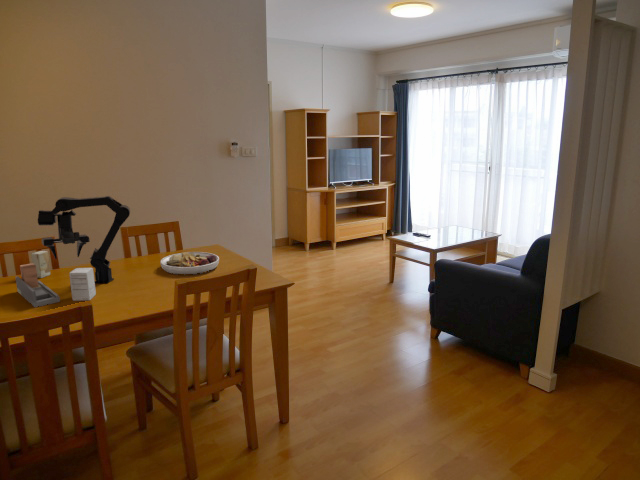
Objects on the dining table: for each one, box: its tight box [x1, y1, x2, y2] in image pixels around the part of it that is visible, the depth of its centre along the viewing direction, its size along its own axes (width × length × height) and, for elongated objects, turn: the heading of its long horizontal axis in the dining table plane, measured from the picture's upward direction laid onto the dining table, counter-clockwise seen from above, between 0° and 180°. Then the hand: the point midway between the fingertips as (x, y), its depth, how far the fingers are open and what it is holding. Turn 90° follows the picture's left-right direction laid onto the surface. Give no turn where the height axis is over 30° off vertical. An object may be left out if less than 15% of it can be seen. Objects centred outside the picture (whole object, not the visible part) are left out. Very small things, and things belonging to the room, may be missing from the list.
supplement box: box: [68, 267, 97, 302], centre depth 199 cm, size 7×7×13 cm
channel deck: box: [15, 276, 61, 308], centre depth 200 cm, size 26×10×7 cm, turn 46°
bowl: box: [160, 251, 220, 276], centre depth 245 cm, size 30×30×8 cm
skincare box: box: [31, 250, 51, 279], centre depth 227 cm, size 6×4×12 cm
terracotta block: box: [19, 262, 39, 288], centre depth 206 cm, size 5×5×10 cm
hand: (67, 258), depth 214 cm, fingers open, 9 cm apart
